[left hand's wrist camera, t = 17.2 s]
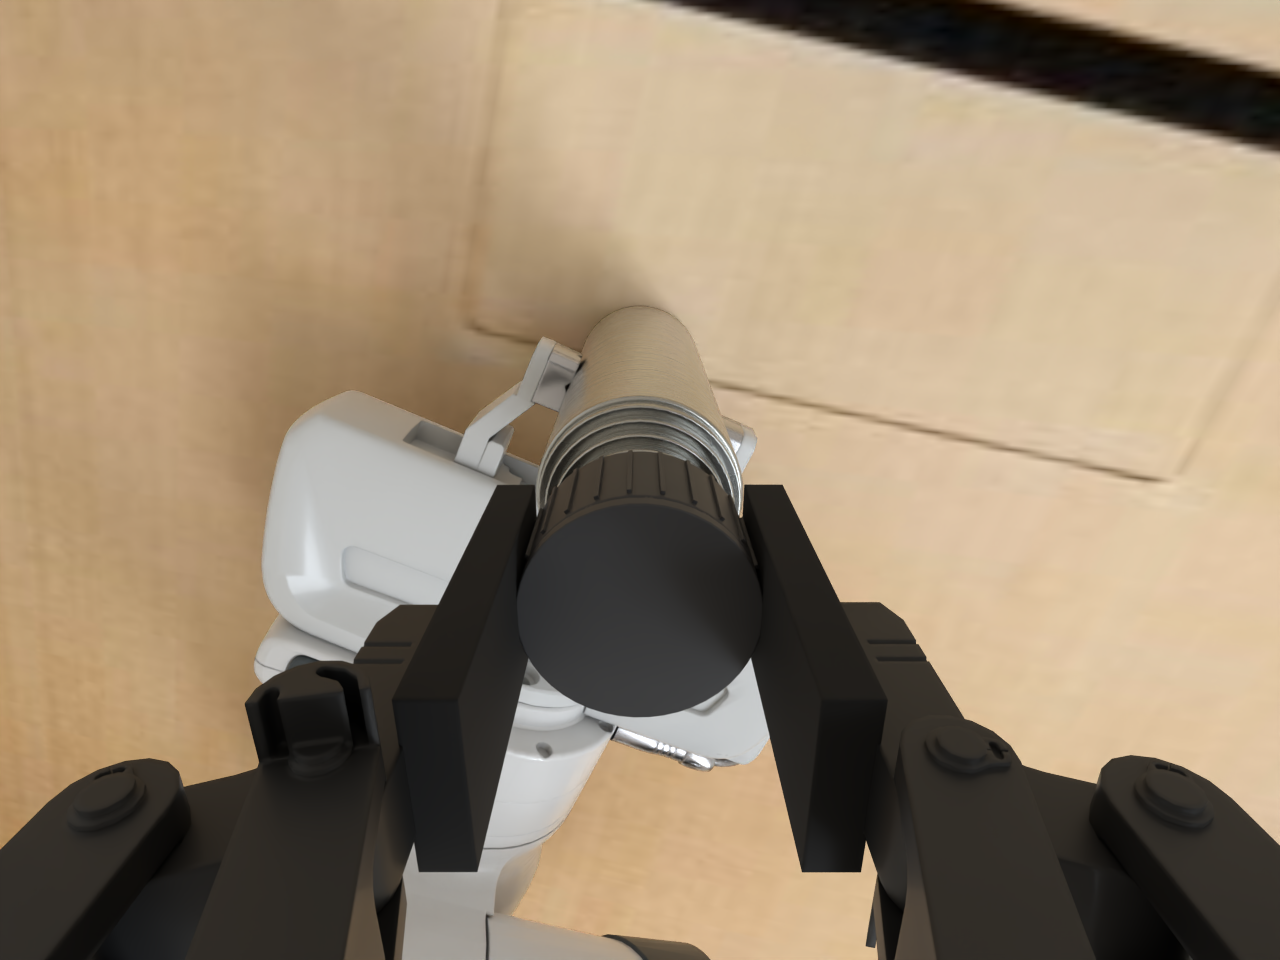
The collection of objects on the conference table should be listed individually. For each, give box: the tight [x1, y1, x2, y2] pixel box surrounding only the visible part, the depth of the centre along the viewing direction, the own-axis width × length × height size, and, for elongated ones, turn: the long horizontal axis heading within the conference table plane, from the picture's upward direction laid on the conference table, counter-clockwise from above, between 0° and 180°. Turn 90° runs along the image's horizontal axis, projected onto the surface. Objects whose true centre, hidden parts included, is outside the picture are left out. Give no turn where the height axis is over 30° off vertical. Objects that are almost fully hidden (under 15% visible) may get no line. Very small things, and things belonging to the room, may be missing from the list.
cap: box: [516, 450, 763, 717], centre depth 13 cm, size 4×4×3 cm
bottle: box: [536, 306, 743, 516], centre depth 21 cm, size 5×5×19 cm
